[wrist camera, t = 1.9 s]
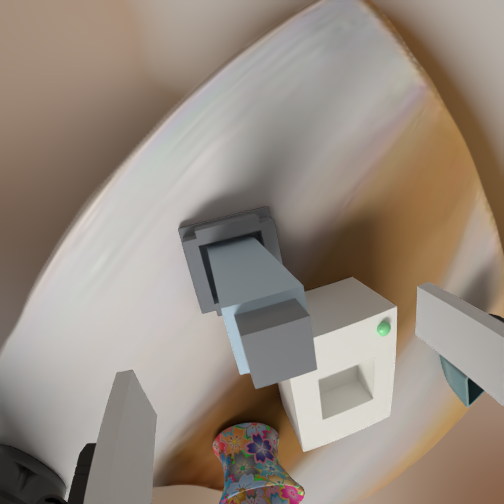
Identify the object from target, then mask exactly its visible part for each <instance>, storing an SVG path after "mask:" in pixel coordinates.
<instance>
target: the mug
mask: <svg viewBox="0 0 504 504" xmlns="http://www.w3.org/2000/svg"><path fill="white" fill-rule="evenodd" d="M278 444H279V436H278V433H277V432H276V431H275V430H274V429H273V428H272V427H270V426H268V425H265V424H261V423H242V424H238V425H234V426H231V427H229V428H227V429H225V430H224V431H222V432H221V433H220V434H219V435H218V436H217V437H216V438H215V440H214V442H213V451H214V453H215V455H216V456H217V457H218V458H219V459H220V461H221V463H222V466H223V469H224V475H225V484H224V490H223V494H222V497H221V500H220V502H219V504H299V503H300V502H301V501H302V499H303V497H304V494H305V492H304V489H303V487H302V486H300V485H299V484H298V483H297V482H295V481H294V480H293V479H292V478H291V477H290V476H289V475H288V473H287V472H286V471H285V469H284V468H283V466H282V464H281V462H280V459H279V456H278Z"/></svg>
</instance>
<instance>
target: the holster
mask: <svg viewBox="0 0 504 504" xmlns="http://www.w3.org/2000/svg"><path fill="white" fill-rule="evenodd" d="M178 231H179V235H180V238H181V242H182V246H183V250H184V253H185V257H186V260H187V264H188V268H189V271H190V275H191V278H192V281H193V285H194V288H195V292H196V295H197V298H198V302H199V305H200V308H201V311H202V313H203V314H204V313H208V312H212V311H217V315H218V316H221V315H222V311H221V308H220V304H219V299H218V295H217V291H216V286H215V282H214V278H213V273H212V269H211V264H210V260H209V255H208V251H207V246H208V245H212V244H216V243H220V242H224V241H228V240H232V239H236V238H240V237H244V236H248V235H252V236H253V237H254V238H255V239H256V240H257V241H258V242H259V243H260V244H261V245H262V246H264V247H265V248H266V249H267V250H268V251H269V252H270V253H271V254H272V255H273V256H274V257H275V258H276V259H277V260H278V261H279V262H280V263H281V264H282V258H281V253H280V248H279V243H278V237H277V232H276V227H275V222H274V219H272V218H271V216H270V211H269V207H262V208H258V209H254V210H250V211H245V212H241V213H237V214H233V215H229V216H225V217H221V218H217V219H213V220H209V221H205V222H201V223H197V224H193V225H189V226H185V227H181V228H178ZM282 265H283V264H282Z"/></svg>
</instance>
